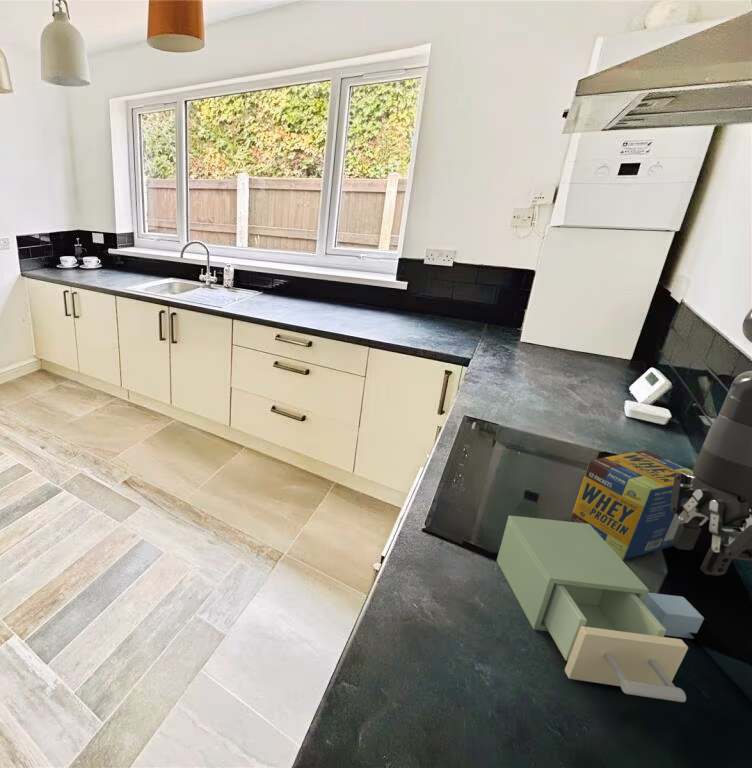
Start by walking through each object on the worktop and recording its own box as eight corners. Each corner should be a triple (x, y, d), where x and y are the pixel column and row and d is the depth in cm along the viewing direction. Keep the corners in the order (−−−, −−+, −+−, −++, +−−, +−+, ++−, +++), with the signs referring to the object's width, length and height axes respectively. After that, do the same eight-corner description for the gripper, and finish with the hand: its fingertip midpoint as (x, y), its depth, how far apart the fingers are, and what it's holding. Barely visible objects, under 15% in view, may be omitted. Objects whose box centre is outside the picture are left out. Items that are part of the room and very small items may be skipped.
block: (673, 616, 70) (683, 596, 69) (694, 639, 66) (704, 618, 65) (638, 612, 71) (646, 592, 69) (656, 634, 67) (665, 613, 66)
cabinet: (627, 642, 66) (649, 590, 62) (533, 629, 67) (550, 578, 64) (573, 569, 79) (589, 523, 76) (496, 560, 81) (508, 515, 77)
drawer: (696, 734, 53) (723, 686, 50) (590, 717, 55) (609, 670, 52) (603, 608, 70) (619, 567, 67) (524, 598, 72) (536, 558, 69)
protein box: (565, 528, 90) (588, 459, 84) (621, 515, 94) (646, 449, 89) (621, 565, 80) (650, 490, 75) (680, 549, 85) (711, 476, 79)
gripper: (838, 486, 51) (773, 603, 57) (729, 431, 65) (686, 530, 70) (762, 479, 52) (705, 595, 58) (671, 426, 66) (632, 525, 71)
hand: (695, 559), depth 64 cm, fingers open, 4 cm apart
